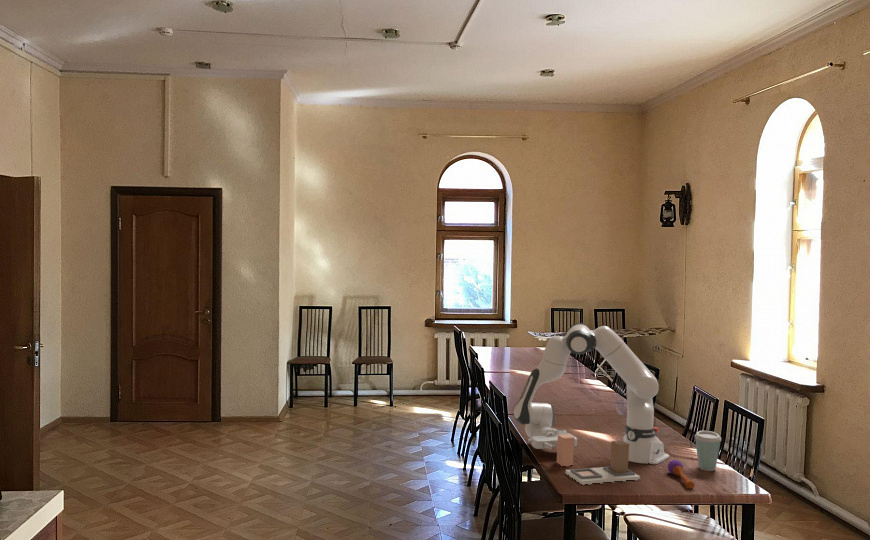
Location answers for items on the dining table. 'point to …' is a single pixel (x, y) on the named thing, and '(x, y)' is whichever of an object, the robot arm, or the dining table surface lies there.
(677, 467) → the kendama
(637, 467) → the dining table surface
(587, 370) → the dining table surface
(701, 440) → the disposable coffee cup
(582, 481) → the board
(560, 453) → the terracotta pillar
